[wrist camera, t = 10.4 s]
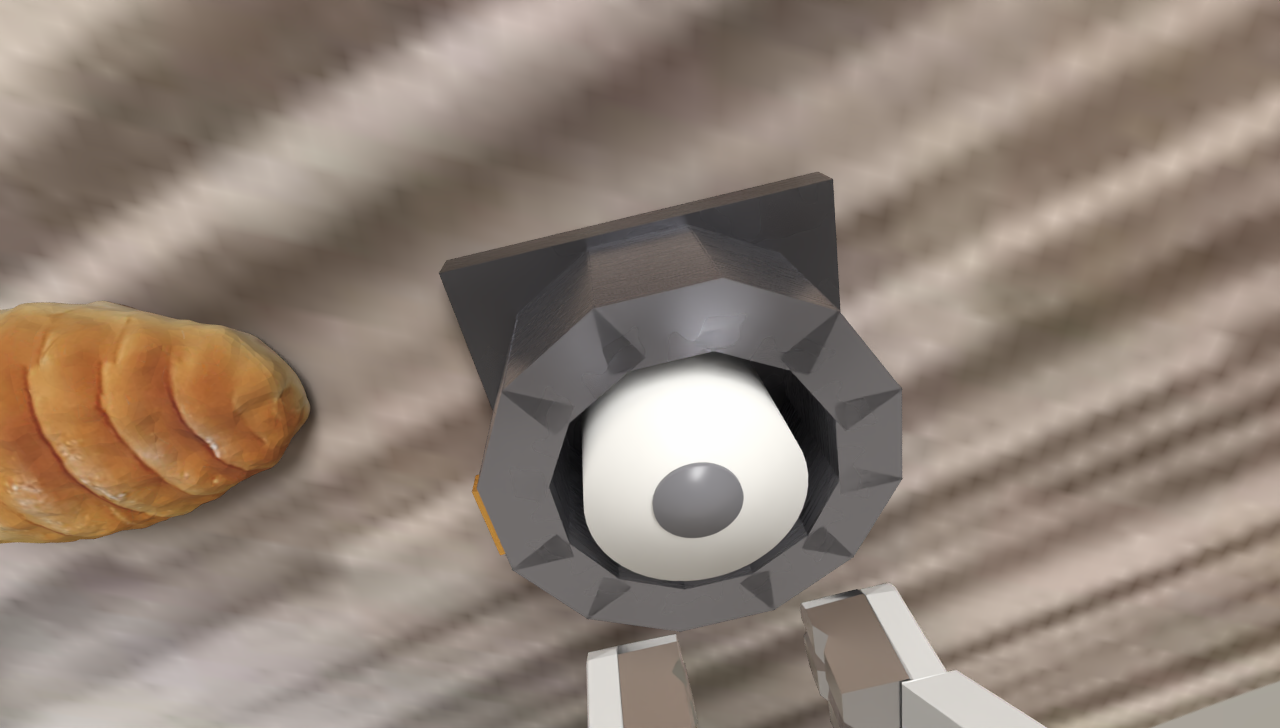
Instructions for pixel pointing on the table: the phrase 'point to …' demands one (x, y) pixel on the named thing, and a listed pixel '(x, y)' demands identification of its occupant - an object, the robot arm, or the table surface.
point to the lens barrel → (662, 332)
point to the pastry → (130, 417)
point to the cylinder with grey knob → (690, 469)
